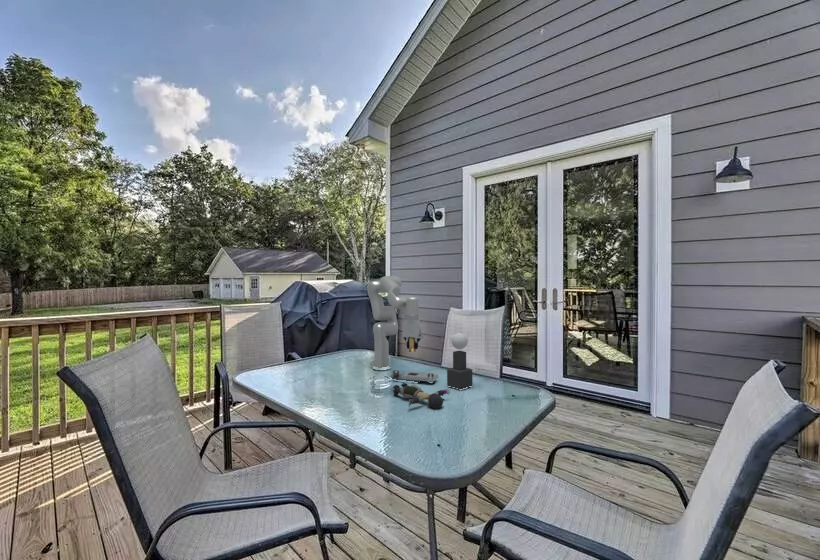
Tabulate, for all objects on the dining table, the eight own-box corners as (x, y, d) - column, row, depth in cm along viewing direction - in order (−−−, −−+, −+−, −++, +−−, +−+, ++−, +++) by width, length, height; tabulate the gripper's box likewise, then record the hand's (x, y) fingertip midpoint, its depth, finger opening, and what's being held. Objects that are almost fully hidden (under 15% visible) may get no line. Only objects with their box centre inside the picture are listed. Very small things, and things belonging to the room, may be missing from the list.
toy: (378, 400, 183) (419, 418, 160) (378, 386, 183) (419, 401, 160) (418, 389, 201) (460, 404, 178) (418, 376, 201) (460, 389, 178)
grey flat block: (388, 380, 219) (388, 372, 219) (394, 376, 228) (394, 368, 228) (432, 385, 209) (432, 376, 209) (438, 381, 218) (438, 372, 218)
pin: (407, 352, 217) (407, 334, 217) (410, 350, 221) (410, 334, 221) (414, 352, 216) (414, 335, 216) (416, 351, 220) (416, 334, 220)
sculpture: (459, 383, 212) (458, 331, 212) (472, 387, 204) (472, 333, 205) (446, 386, 206) (446, 332, 206) (460, 390, 198) (459, 334, 198)
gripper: (396, 317, 218) (396, 349, 218) (423, 318, 212) (423, 350, 212) (401, 316, 225) (401, 346, 225) (427, 317, 219) (427, 348, 219)
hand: (412, 348), depth 218 cm, fingers closed on pin, 4 cm apart
